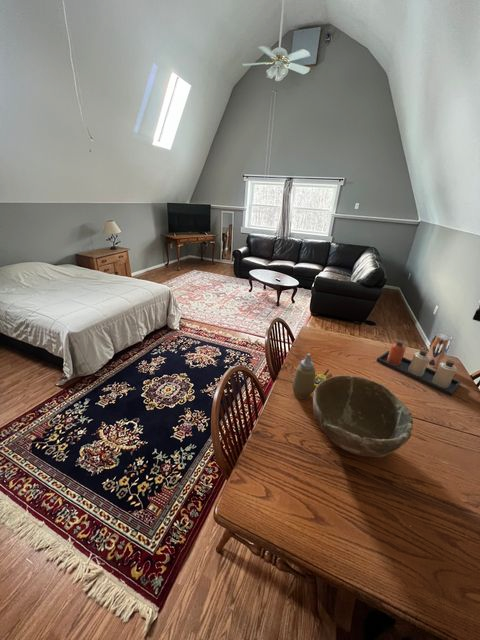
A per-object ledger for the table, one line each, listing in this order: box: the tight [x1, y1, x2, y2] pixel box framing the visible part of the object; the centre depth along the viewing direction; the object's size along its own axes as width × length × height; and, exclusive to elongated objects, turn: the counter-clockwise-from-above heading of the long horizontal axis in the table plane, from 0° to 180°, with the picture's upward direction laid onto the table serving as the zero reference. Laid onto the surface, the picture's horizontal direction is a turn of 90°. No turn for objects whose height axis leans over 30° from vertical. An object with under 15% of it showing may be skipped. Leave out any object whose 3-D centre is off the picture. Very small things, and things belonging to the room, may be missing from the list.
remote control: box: [314, 369, 330, 390], centre depth 111 cm, size 5×2×15 cm
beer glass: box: [427, 332, 454, 369], centre depth 121 cm, size 7×7×15 cm
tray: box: [376, 350, 462, 397], centre depth 117 cm, size 30×12×2 cm, turn 39°
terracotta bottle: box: [387, 339, 407, 366], centre depth 122 cm, size 6×6×11 cm
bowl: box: [312, 374, 414, 458], centre depth 81 cm, size 28×27×15 cm
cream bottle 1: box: [408, 348, 430, 376], centre depth 115 cm, size 6×6×11 cm
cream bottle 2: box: [432, 359, 458, 388], centre depth 109 cm, size 6×6×11 cm
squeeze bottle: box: [291, 353, 316, 400], centre depth 98 cm, size 8×8×18 cm
